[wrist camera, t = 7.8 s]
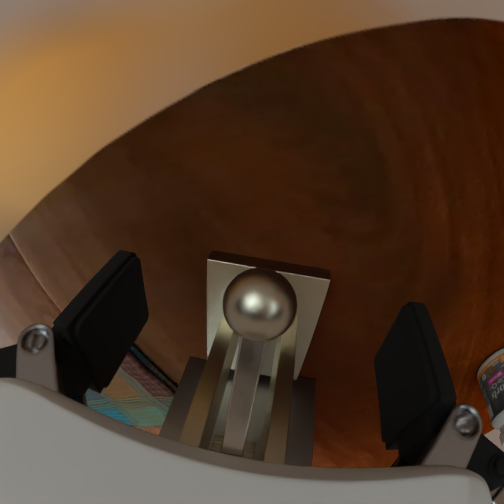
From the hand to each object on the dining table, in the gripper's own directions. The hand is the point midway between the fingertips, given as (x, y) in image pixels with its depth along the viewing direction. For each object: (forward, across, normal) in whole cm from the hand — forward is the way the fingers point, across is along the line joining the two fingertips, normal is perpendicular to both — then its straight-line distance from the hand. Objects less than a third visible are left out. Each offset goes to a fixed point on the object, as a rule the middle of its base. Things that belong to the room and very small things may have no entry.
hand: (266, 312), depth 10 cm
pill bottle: (+9, -27, +12) cm, 31 cm away
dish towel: (+8, +18, +27) cm, 34 cm away
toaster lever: (+1, 0, +6) cm, 6 cm away
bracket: (+9, 0, +9) cm, 13 cm away
